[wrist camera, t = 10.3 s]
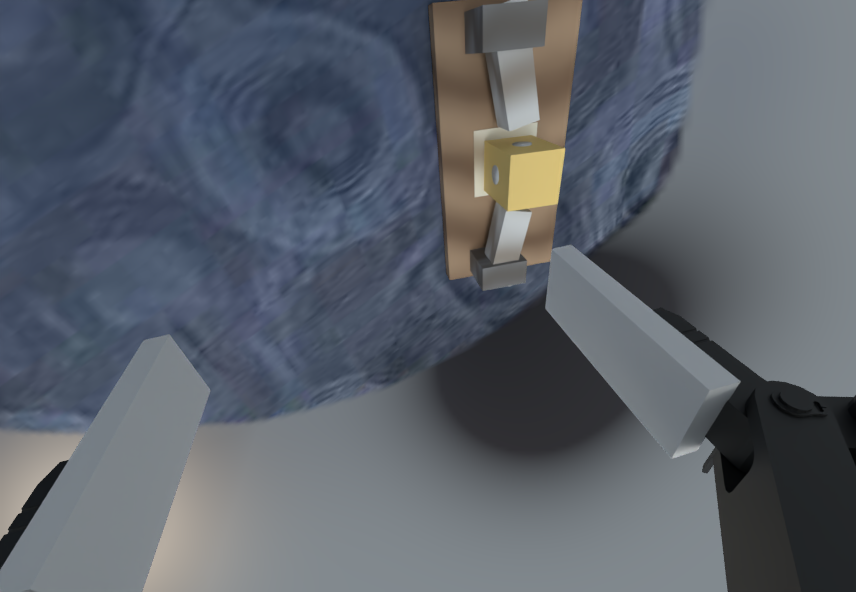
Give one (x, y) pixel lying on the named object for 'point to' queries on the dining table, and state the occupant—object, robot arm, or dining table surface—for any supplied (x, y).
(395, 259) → the dining table surface
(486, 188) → the block
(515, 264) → the brown wooden base
